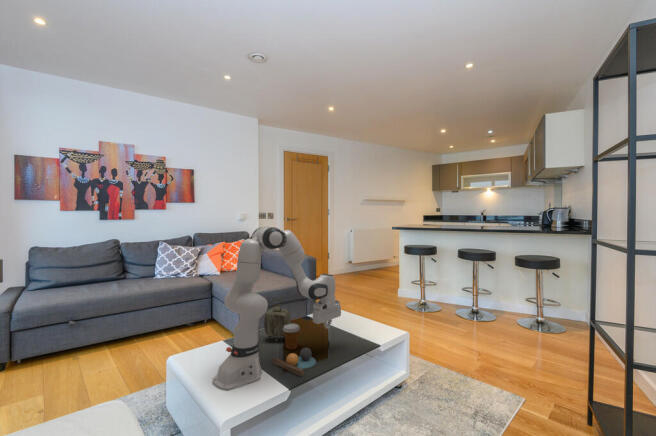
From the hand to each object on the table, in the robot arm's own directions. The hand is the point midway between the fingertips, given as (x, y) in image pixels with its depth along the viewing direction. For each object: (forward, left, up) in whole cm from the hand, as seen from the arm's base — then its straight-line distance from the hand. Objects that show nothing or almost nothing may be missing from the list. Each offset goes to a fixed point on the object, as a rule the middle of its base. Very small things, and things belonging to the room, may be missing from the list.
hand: (327, 327), depth 174 cm
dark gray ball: (-16, +1, -9) cm, 19 cm away
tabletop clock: (-10, +32, -12) cm, 36 cm away
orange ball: (-25, +1, -9) cm, 27 cm away
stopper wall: (-29, 0, -12) cm, 32 cm away
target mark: (-20, 0, -12) cm, 23 cm away
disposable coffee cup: (-11, +18, -12) cm, 24 cm away
